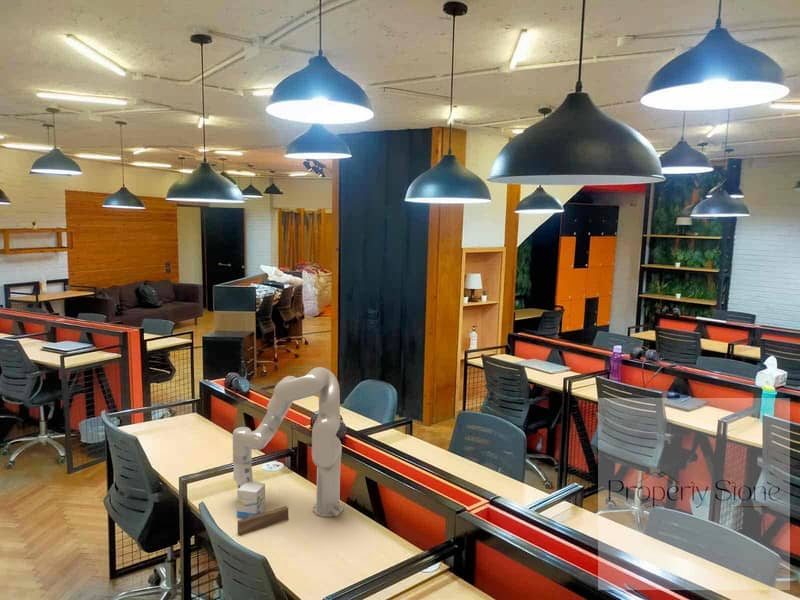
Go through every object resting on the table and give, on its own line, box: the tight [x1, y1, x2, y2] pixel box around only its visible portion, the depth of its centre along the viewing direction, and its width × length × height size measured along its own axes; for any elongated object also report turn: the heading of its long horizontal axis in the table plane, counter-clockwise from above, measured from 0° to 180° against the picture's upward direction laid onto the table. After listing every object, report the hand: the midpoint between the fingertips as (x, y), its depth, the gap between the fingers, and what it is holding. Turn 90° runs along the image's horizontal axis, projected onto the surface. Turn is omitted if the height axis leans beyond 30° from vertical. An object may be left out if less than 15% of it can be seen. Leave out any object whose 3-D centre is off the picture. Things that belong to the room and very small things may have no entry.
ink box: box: [236, 481, 266, 519], centre depth 221 cm, size 8×8×12 cm
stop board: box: [237, 505, 289, 536], centre depth 211 cm, size 2×20×5 cm, turn 128°
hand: (242, 499), depth 229 cm, fingers closed
